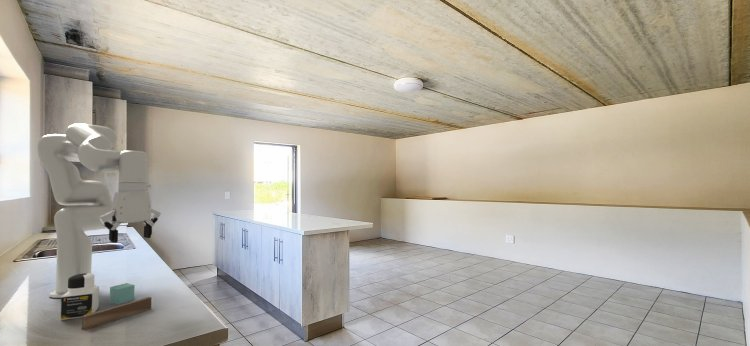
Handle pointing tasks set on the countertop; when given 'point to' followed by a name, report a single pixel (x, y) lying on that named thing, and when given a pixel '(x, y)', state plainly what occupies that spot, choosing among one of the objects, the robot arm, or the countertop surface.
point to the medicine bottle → (80, 297)
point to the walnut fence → (115, 313)
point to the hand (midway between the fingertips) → (131, 239)
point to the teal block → (122, 293)
